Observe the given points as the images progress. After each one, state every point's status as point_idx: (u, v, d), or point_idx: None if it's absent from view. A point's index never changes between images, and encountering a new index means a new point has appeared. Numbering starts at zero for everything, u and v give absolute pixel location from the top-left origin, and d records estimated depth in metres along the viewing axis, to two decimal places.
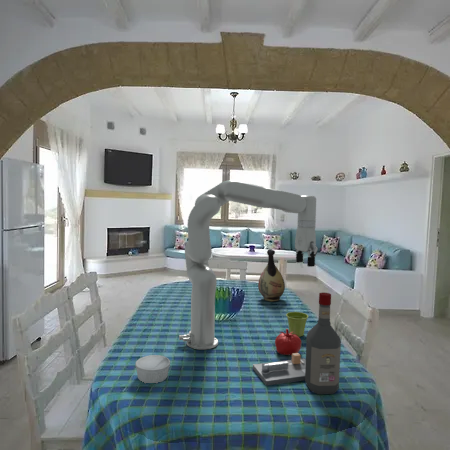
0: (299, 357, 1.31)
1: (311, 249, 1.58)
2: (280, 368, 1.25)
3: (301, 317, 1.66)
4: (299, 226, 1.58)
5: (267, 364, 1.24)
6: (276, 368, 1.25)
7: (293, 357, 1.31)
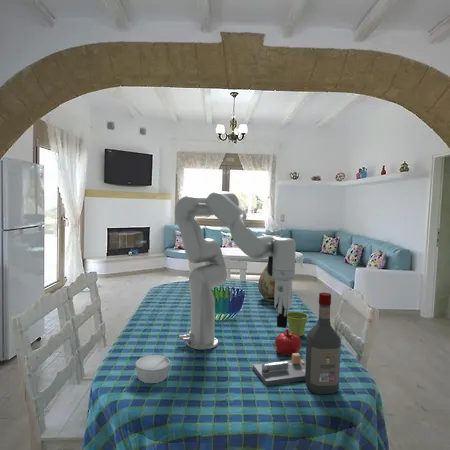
0: (299, 357, 1.31)
1: None
2: (280, 368, 1.25)
3: (301, 317, 1.66)
4: (294, 276, 1.28)
5: (267, 364, 1.24)
6: (276, 368, 1.25)
7: (293, 357, 1.31)
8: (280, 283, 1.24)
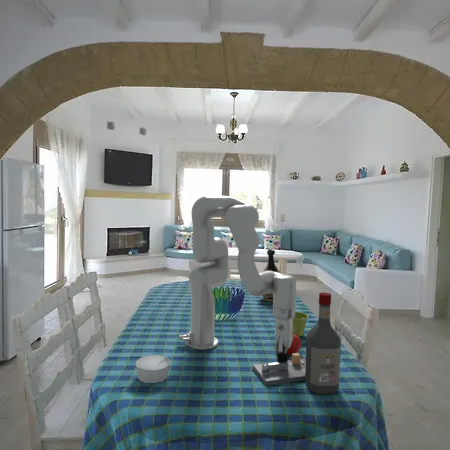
0: (299, 357, 1.31)
1: None
2: (280, 368, 1.25)
3: (301, 317, 1.66)
4: None
5: (267, 364, 1.24)
6: (276, 368, 1.25)
7: (293, 357, 1.31)
8: (281, 322, 1.23)
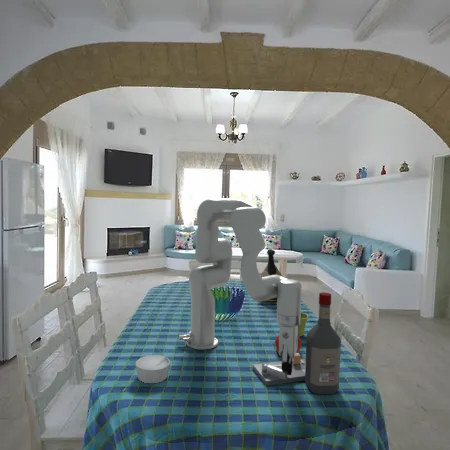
0: (299, 357, 1.31)
1: None
2: (277, 375, 1.21)
3: (301, 317, 1.66)
4: None
5: (267, 365, 1.24)
6: (273, 373, 1.21)
7: None
8: (285, 330, 1.16)
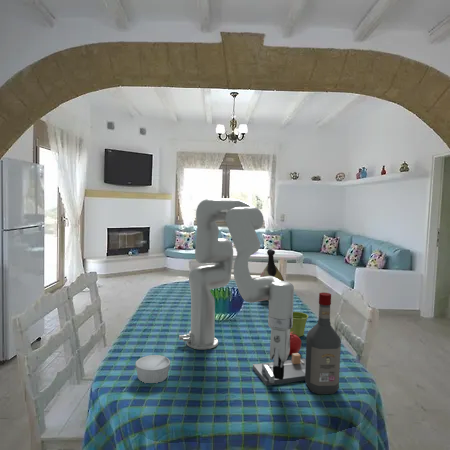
0: (299, 357, 1.31)
1: None
2: (268, 377, 1.19)
3: (301, 317, 1.66)
4: (292, 324, 1.16)
5: (266, 365, 1.24)
6: (266, 374, 1.21)
7: (293, 357, 1.31)
8: (276, 333, 1.13)
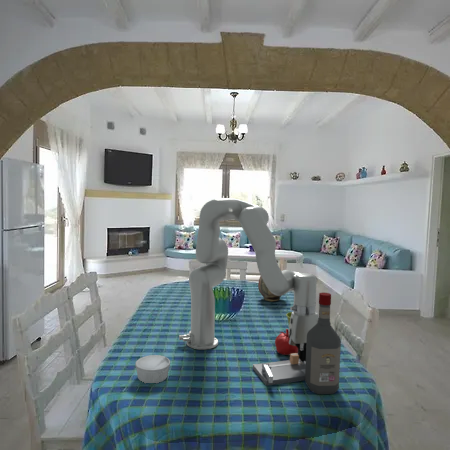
0: (297, 357, 1.30)
1: None
2: (267, 377, 1.19)
3: None
4: (311, 314, 1.27)
5: (266, 365, 1.24)
6: (266, 374, 1.21)
7: (291, 357, 1.30)
8: (292, 316, 1.30)
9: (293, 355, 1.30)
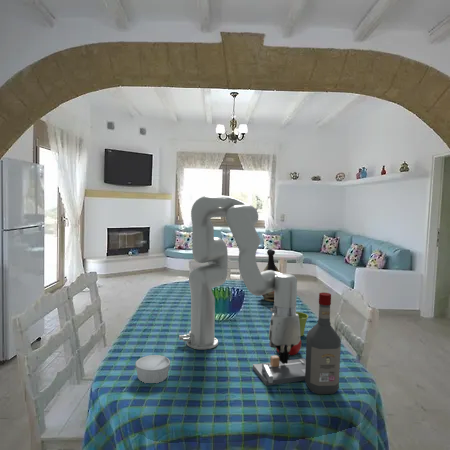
0: (278, 360, 1.28)
1: None
2: (267, 377, 1.19)
3: (301, 317, 1.66)
4: (291, 315, 1.25)
5: (266, 365, 1.24)
6: (266, 374, 1.21)
7: (272, 360, 1.28)
8: (272, 317, 1.28)
9: (273, 357, 1.28)
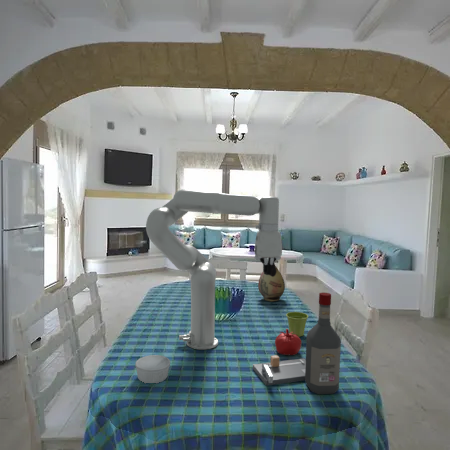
0: (278, 359, 1.28)
1: None
2: (267, 377, 1.19)
3: (301, 317, 1.66)
4: (273, 230, 1.43)
5: (266, 365, 1.24)
6: (266, 374, 1.21)
7: (272, 359, 1.28)
8: (257, 233, 1.46)
9: (274, 357, 1.28)
